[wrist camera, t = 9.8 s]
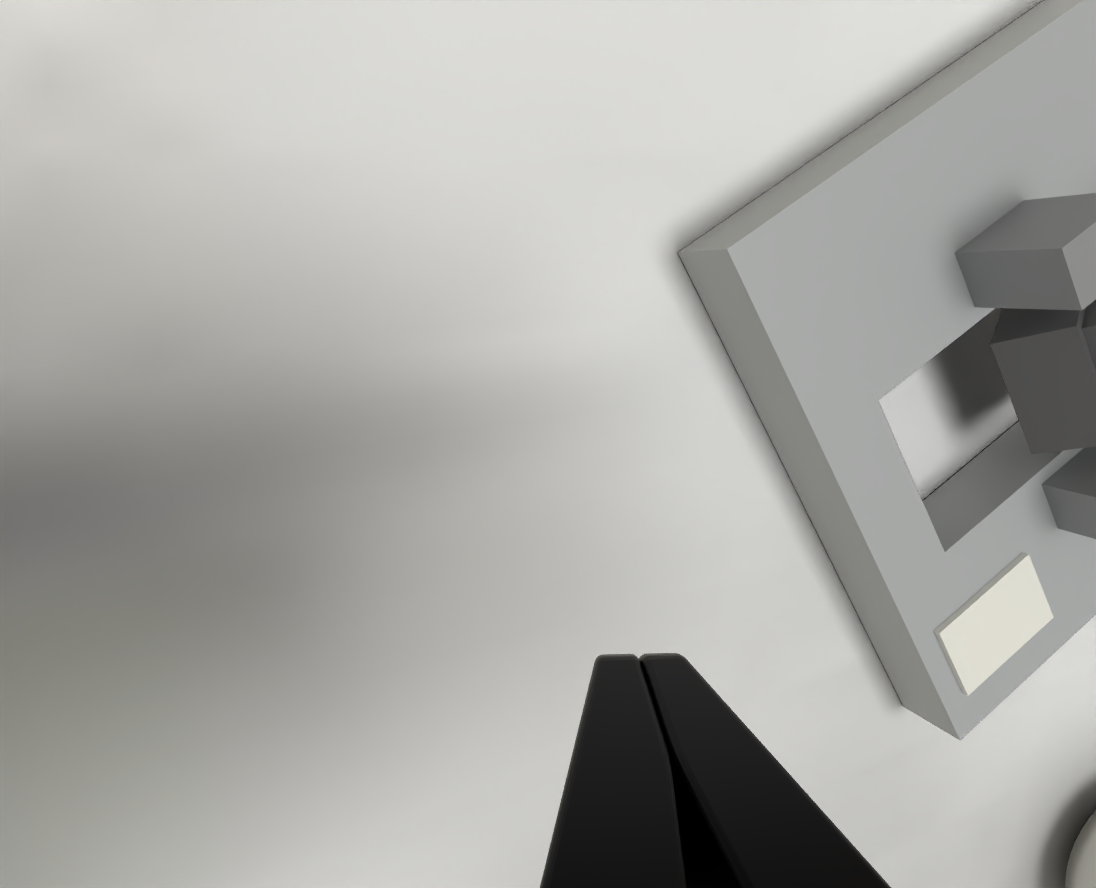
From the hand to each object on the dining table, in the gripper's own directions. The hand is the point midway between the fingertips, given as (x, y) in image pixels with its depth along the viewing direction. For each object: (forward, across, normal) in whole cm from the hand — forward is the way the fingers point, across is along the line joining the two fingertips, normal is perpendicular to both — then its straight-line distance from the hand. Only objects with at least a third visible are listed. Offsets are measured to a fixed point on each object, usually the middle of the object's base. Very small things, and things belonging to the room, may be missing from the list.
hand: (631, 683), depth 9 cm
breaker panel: (+16, -14, +4) cm, 21 cm away
